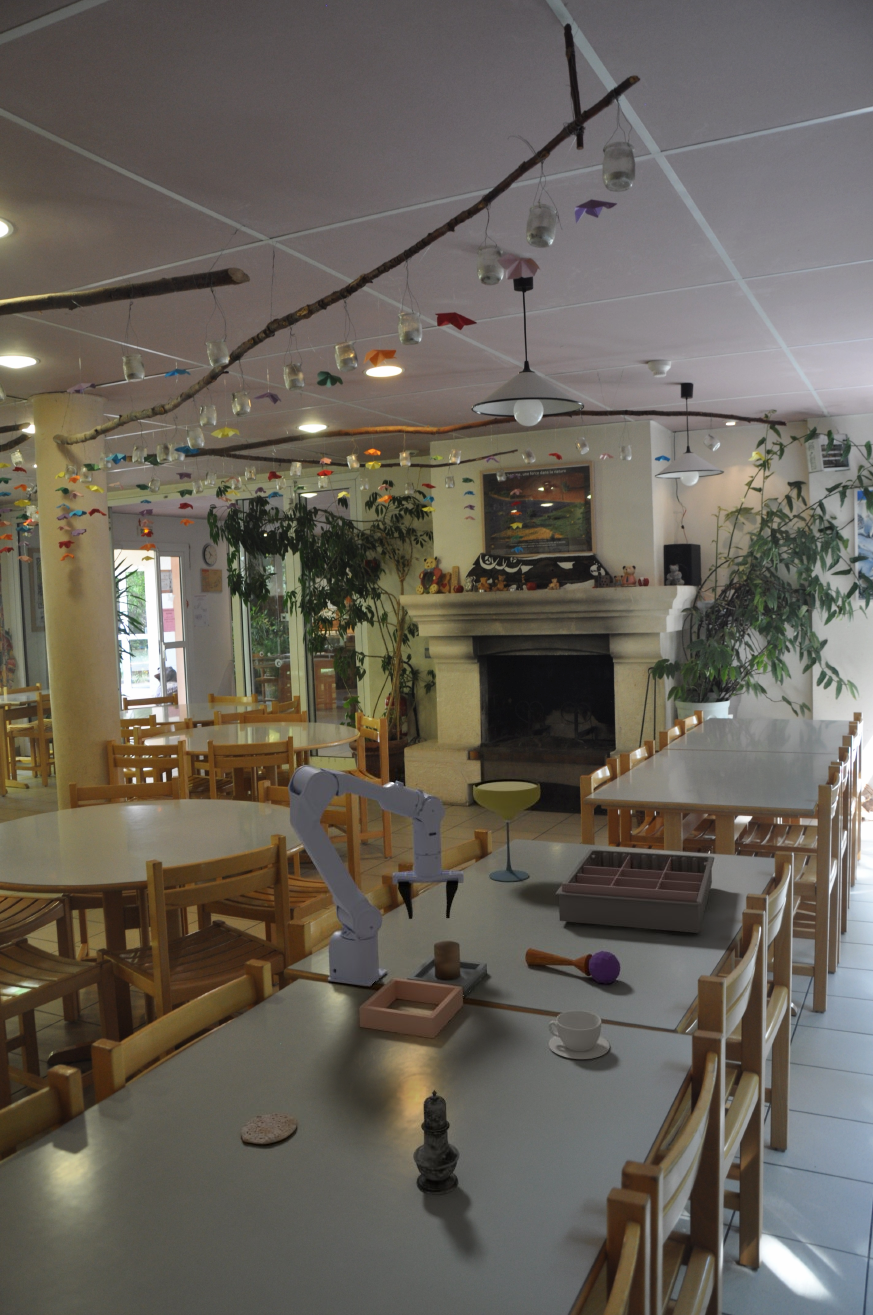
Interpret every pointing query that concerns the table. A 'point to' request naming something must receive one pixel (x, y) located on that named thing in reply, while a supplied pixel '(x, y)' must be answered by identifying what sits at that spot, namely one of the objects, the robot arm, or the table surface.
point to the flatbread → (268, 1128)
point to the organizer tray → (637, 890)
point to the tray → (467, 980)
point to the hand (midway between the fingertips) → (429, 917)
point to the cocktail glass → (507, 811)
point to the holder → (409, 1022)
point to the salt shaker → (436, 1150)
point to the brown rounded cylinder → (447, 960)
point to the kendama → (581, 964)
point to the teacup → (578, 1035)
